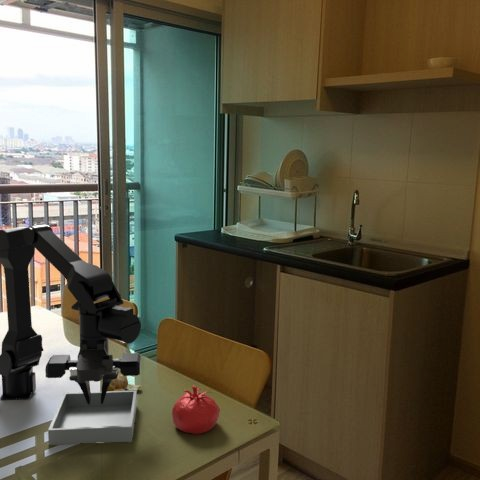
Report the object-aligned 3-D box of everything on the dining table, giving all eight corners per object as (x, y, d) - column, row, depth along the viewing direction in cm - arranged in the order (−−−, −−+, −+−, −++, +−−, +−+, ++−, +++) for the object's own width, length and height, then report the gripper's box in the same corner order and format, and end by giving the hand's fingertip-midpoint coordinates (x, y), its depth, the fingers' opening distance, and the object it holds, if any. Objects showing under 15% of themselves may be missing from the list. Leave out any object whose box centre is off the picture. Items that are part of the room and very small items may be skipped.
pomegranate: (201, 445, 108) (201, 402, 107) (162, 430, 113) (162, 389, 112) (228, 424, 116) (229, 384, 115) (191, 411, 122) (191, 372, 120)
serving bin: (48, 449, 105) (48, 430, 105) (64, 409, 121) (63, 392, 120) (132, 445, 107) (131, 426, 107) (136, 406, 123) (136, 390, 122)
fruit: (117, 400, 125) (116, 385, 124) (94, 392, 129) (93, 377, 129) (143, 387, 131) (143, 373, 131) (120, 380, 136) (119, 366, 136)
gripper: (37, 348, 101) (40, 424, 104) (137, 346, 104) (138, 421, 107) (50, 328, 112) (52, 398, 115) (141, 326, 115) (141, 395, 117)
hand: (95, 403), depth 113 cm, fingers closed
